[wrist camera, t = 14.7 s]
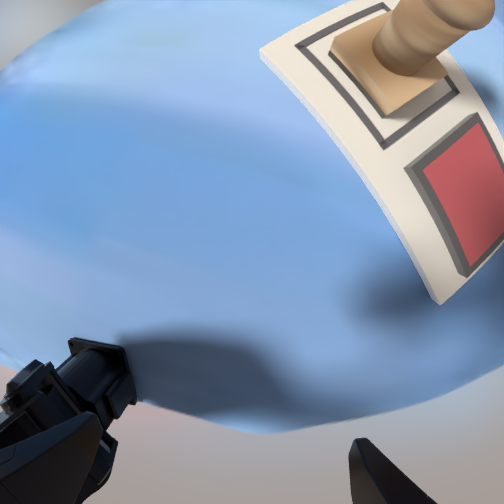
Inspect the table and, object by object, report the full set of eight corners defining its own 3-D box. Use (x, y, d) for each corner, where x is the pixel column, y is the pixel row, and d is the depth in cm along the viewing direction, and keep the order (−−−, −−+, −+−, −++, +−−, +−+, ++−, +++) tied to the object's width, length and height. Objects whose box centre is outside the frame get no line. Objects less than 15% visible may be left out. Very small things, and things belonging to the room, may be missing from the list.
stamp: (431, 84, 15) (539, 22, 3) (381, 118, 16) (499, 48, 4) (381, 26, 14) (450, -72, 3) (327, 54, 15) (376, -70, 4)
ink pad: (514, 213, 16) (523, 215, 15) (458, 273, 17) (467, 278, 16) (468, 114, 15) (477, 111, 14) (403, 168, 16) (411, 166, 15)
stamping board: (520, 207, 17) (531, 209, 15) (431, 298, 19) (440, 306, 18) (382, -4, 14) (387, -13, 13) (260, 58, 17) (259, 48, 15)
